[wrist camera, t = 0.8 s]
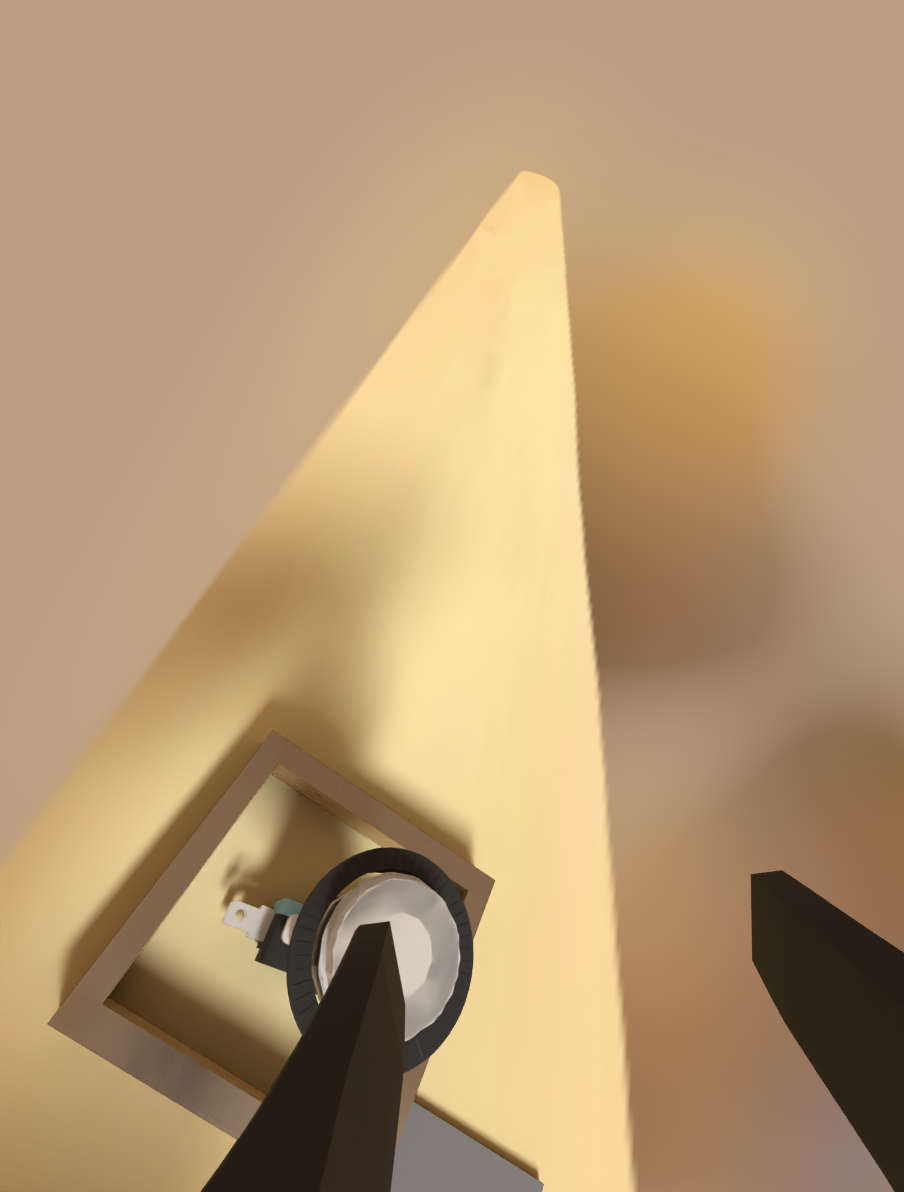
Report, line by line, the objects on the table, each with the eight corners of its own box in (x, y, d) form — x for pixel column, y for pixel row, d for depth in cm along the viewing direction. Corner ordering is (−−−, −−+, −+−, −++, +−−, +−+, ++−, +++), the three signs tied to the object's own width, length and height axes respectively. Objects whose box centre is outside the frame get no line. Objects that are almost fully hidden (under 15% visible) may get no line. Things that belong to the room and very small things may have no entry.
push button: (188, 989, 19) (198, 1034, 12) (258, 840, 23) (303, 796, 15) (353, 1044, 21) (461, 1118, 13) (398, 894, 24) (506, 881, 16)
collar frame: (353, 1195, 19) (369, 1220, 17) (58, 1015, 18) (47, 1024, 16) (475, 882, 26) (495, 880, 24) (266, 742, 25) (273, 730, 23)
